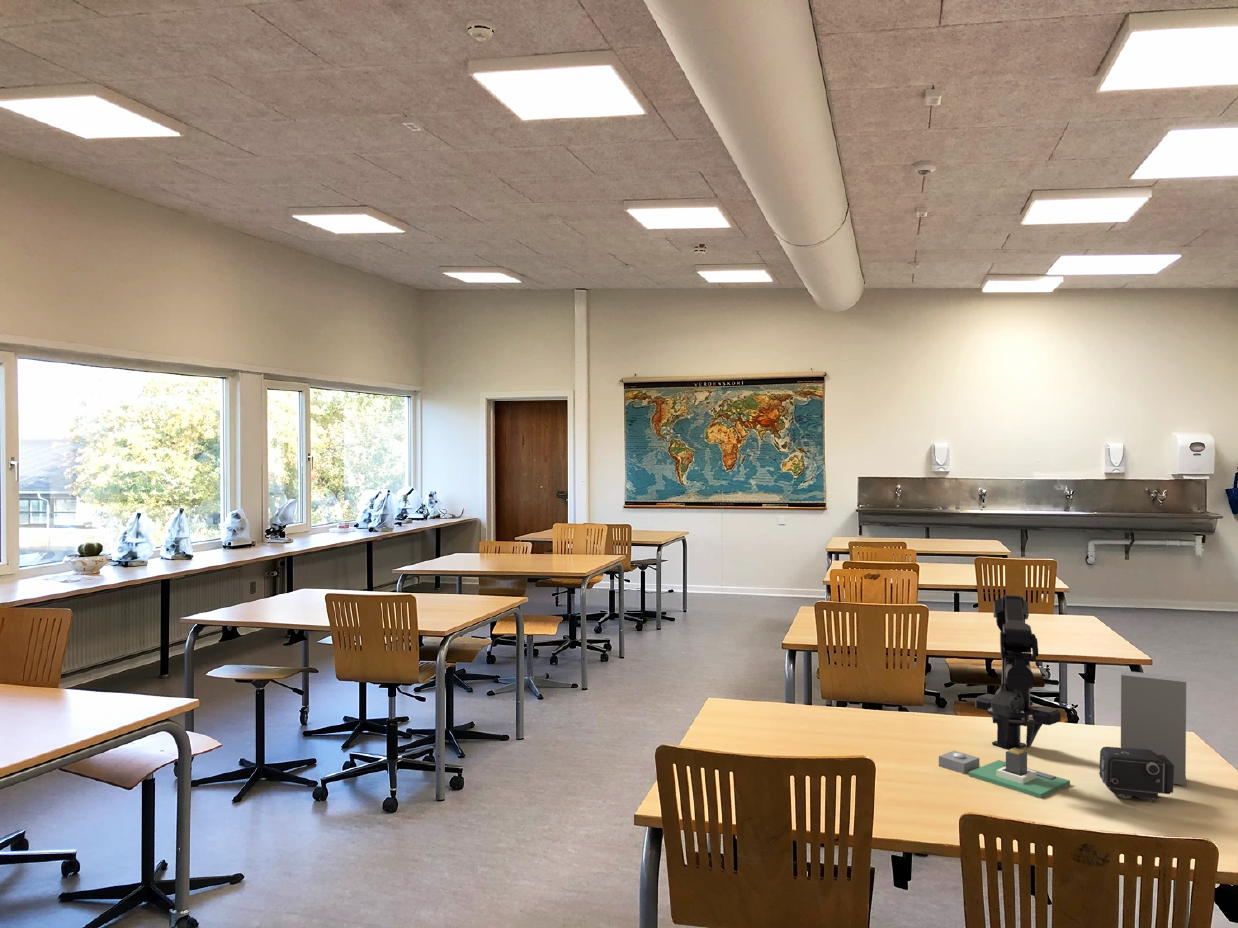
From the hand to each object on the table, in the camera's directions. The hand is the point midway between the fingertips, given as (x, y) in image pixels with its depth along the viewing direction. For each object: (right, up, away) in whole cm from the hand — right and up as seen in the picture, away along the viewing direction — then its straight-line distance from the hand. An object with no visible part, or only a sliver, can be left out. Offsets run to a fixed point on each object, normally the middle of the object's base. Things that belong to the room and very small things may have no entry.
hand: (1016, 744), depth 216 cm
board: (+1, -9, +1) cm, 9 cm away
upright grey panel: (+35, -9, +3) cm, 36 cm away
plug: (0, -8, 0) cm, 8 cm away
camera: (+23, -9, -10) cm, 27 cm away
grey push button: (-10, -9, +10) cm, 17 cm away
